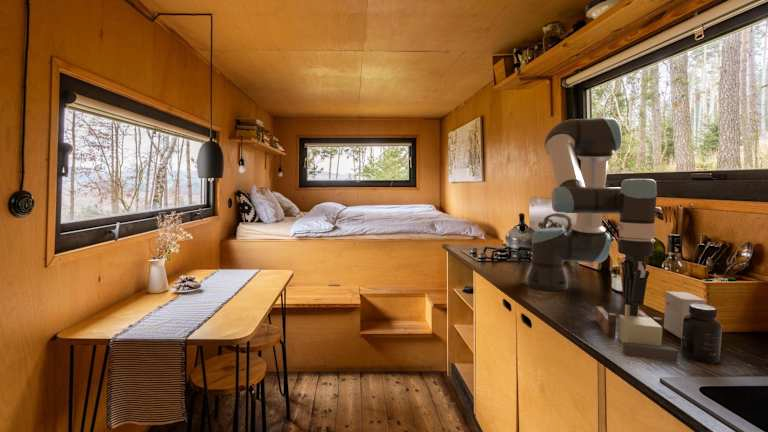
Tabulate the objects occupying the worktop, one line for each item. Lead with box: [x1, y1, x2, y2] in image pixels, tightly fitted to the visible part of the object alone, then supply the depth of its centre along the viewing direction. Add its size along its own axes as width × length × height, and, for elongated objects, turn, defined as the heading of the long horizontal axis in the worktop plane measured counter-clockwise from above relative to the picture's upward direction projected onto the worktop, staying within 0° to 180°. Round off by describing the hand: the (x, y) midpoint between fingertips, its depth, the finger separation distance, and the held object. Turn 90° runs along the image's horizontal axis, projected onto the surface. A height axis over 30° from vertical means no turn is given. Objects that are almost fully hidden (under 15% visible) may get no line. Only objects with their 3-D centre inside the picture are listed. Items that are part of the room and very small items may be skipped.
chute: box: [594, 305, 663, 339], centre depth 100 cm, size 14×12×6 cm
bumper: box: [622, 342, 679, 363], centre depth 84 cm, size 2×10×2 cm, turn 72°
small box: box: [663, 290, 707, 339], centre depth 98 cm, size 8×6×10 cm
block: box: [617, 314, 663, 346], centre depth 91 cm, size 7×7×6 cm
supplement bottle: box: [680, 303, 723, 365], centre depth 84 cm, size 7×7×12 cm
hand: (631, 328), depth 96 cm, fingers closed
